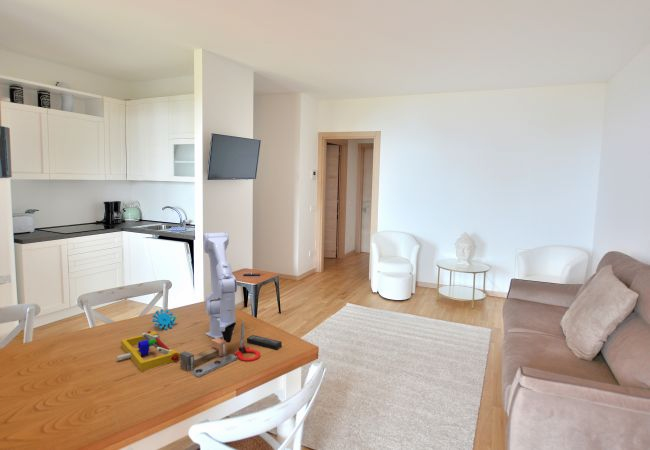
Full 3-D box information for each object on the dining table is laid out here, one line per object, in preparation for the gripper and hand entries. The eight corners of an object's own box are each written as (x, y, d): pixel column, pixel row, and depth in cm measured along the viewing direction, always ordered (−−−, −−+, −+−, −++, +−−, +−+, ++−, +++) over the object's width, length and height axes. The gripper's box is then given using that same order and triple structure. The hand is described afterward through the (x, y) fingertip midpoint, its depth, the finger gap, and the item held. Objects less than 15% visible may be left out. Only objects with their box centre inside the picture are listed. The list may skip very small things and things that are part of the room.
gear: (155, 329, 170) (151, 308, 175) (150, 336, 173) (146, 315, 178) (180, 326, 177) (175, 307, 182) (175, 333, 181) (171, 313, 186)
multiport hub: (276, 351, 157) (276, 345, 157) (246, 343, 163) (246, 338, 163) (282, 347, 161) (282, 341, 161) (252, 339, 167) (252, 334, 167)
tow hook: (264, 357, 152) (249, 349, 158) (265, 325, 150) (250, 318, 156) (247, 365, 145) (231, 356, 151) (248, 332, 143) (232, 324, 149)
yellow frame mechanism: (153, 321, 168) (181, 345, 146) (153, 335, 169) (181, 362, 146) (105, 332, 156) (127, 360, 134) (106, 347, 157) (128, 377, 134)
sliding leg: (217, 350, 155) (217, 337, 155) (227, 355, 152) (227, 341, 151) (211, 353, 153) (211, 339, 152) (221, 357, 149) (221, 344, 149)
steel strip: (230, 356, 151) (230, 353, 151) (237, 359, 149) (237, 356, 148) (191, 373, 137) (191, 370, 137) (198, 377, 135) (198, 374, 135)
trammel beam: (217, 350, 155) (217, 338, 154) (227, 355, 152) (227, 342, 151) (179, 367, 141) (179, 353, 141) (189, 372, 138) (188, 358, 137)
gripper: (223, 302, 161) (223, 333, 163) (211, 314, 147) (211, 349, 149) (240, 302, 161) (240, 334, 163) (229, 315, 146) (229, 350, 148)
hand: (227, 341), depth 156 cm, fingers closed
